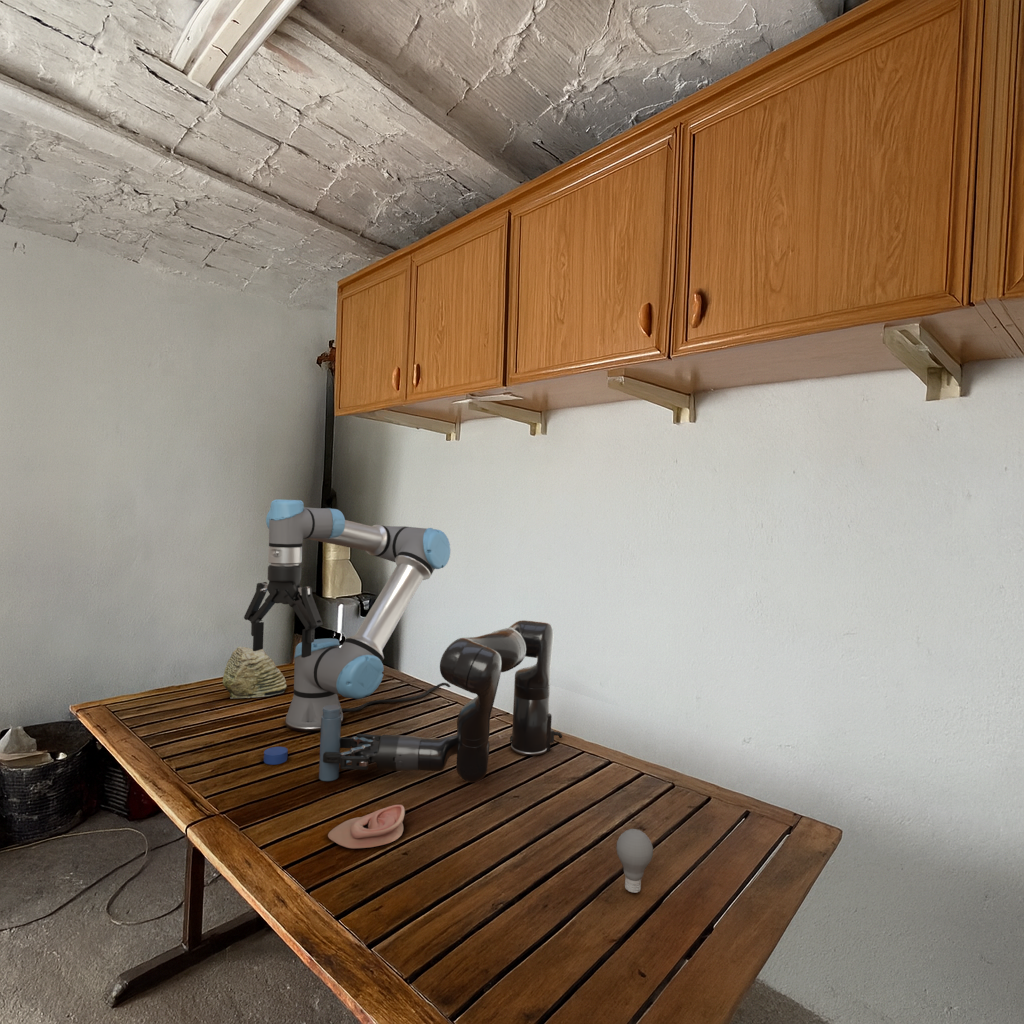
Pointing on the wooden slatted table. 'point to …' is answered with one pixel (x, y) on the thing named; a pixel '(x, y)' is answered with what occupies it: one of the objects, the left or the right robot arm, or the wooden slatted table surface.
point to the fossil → (252, 675)
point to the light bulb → (634, 857)
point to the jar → (329, 741)
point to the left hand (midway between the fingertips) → (281, 653)
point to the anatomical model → (370, 828)
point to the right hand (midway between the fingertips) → (329, 749)
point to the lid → (275, 755)
